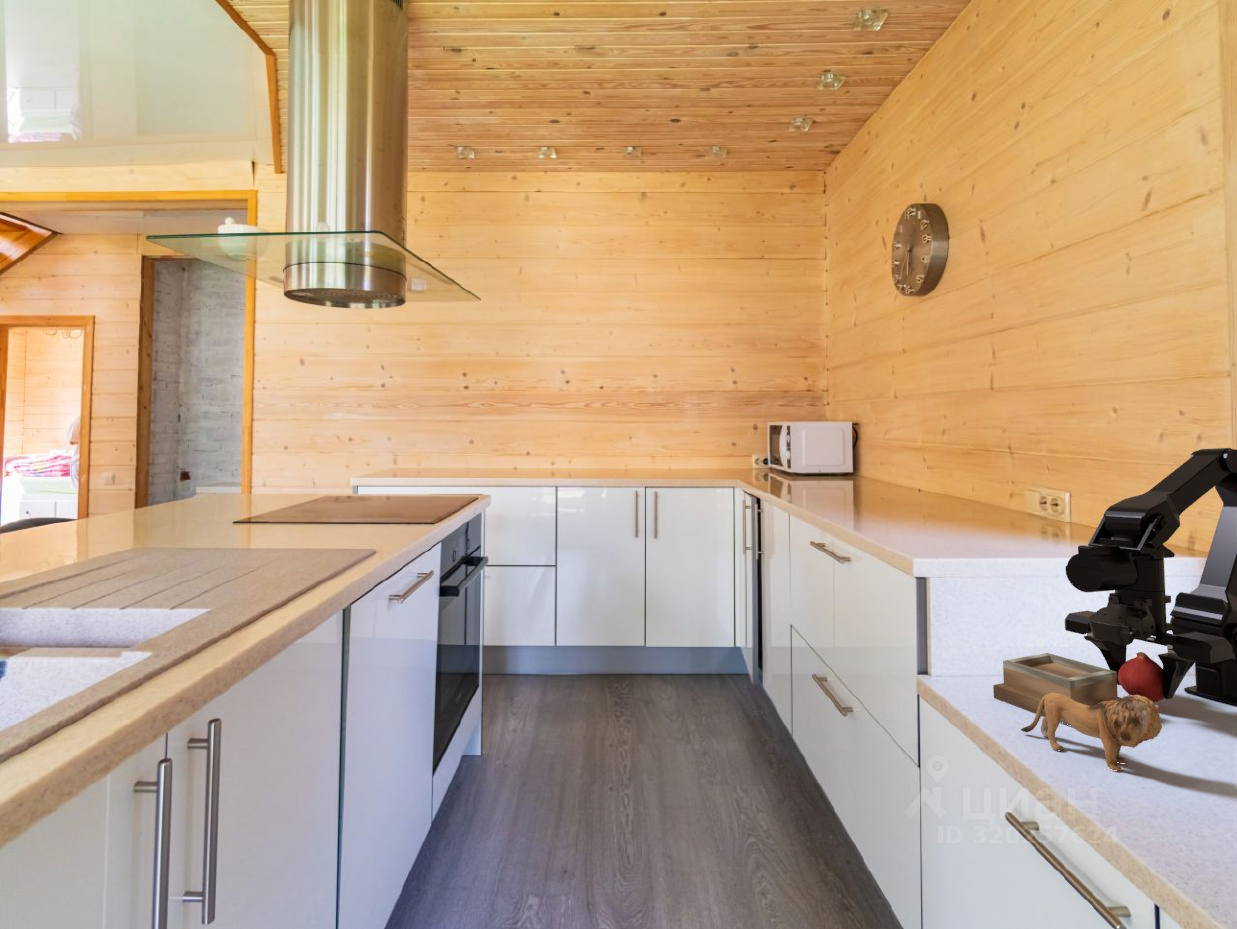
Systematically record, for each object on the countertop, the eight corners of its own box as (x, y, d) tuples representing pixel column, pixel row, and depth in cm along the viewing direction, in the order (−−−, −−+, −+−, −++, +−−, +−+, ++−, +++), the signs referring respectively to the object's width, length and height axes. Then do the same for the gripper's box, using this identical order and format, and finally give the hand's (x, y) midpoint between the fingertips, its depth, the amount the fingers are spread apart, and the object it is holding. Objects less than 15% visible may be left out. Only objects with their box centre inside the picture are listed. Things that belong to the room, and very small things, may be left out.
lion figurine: (1170, 772, 69) (1167, 695, 70) (1157, 786, 66) (1153, 706, 66) (1028, 729, 81) (1026, 664, 82) (1012, 740, 78) (1009, 672, 79)
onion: (1135, 695, 92) (1134, 644, 92) (1180, 709, 86) (1179, 655, 86) (1109, 700, 90) (1108, 648, 90) (1154, 715, 84) (1153, 660, 84)
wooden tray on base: (1046, 686, 97) (1045, 650, 97) (1130, 714, 85) (1128, 673, 85) (993, 697, 93) (992, 659, 93) (1074, 728, 81) (1072, 684, 81)
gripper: (1039, 582, 94) (1042, 678, 94) (1182, 606, 77) (1187, 725, 77) (1086, 576, 98) (1089, 669, 98) (1233, 598, 80) (1237, 711, 80)
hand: (1143, 691), depth 88 cm, fingers closed on onion, 6 cm apart
